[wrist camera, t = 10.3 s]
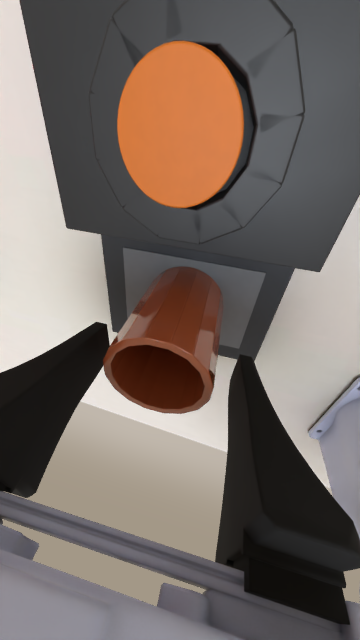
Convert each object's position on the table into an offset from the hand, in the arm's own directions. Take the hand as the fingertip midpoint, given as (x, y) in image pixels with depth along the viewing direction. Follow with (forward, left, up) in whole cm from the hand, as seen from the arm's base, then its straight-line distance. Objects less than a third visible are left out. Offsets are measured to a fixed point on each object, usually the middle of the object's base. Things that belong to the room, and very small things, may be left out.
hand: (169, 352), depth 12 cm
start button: (+9, 0, 0) cm, 9 cm away
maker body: (+9, 0, -6) cm, 11 cm away
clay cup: (0, 0, -5) cm, 5 cm away
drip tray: (0, 0, -6) cm, 6 cm away
